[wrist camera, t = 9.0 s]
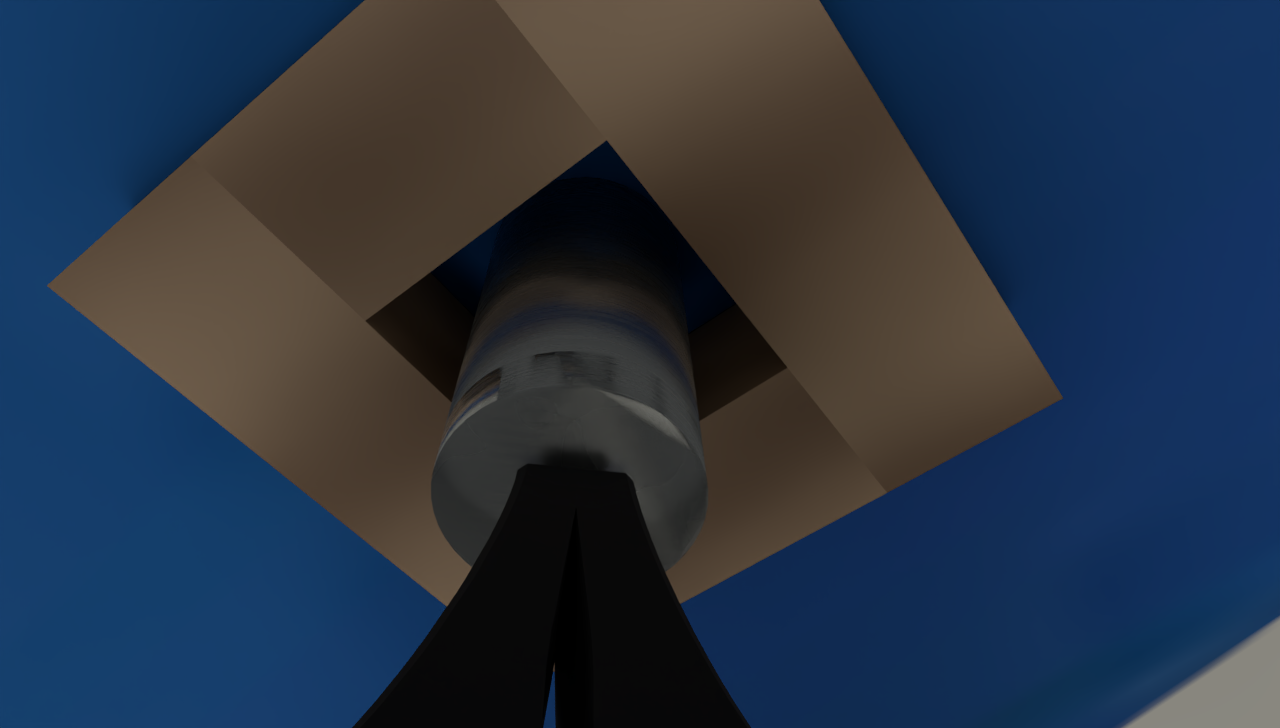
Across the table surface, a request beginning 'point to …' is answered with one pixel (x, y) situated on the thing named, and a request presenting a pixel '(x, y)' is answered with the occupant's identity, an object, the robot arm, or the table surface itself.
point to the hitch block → (505, 178)
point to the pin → (577, 367)
